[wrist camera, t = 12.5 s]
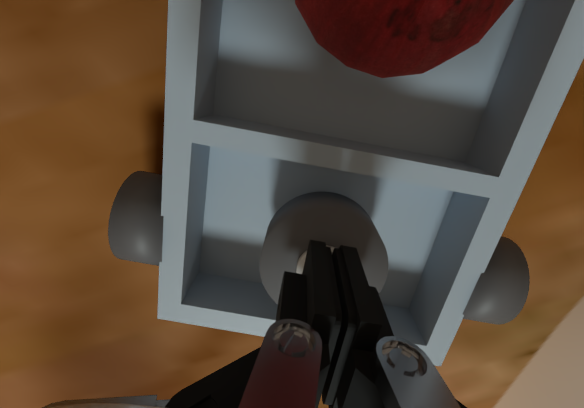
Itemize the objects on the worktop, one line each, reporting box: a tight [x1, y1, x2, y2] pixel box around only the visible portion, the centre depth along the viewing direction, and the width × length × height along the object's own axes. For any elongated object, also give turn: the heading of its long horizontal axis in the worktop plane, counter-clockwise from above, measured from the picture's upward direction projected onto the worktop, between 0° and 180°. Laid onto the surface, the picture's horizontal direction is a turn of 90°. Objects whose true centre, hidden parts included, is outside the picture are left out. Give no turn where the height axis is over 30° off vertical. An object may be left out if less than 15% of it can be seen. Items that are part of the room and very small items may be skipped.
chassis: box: [108, 0, 584, 366], centre depth 12 cm, size 20×17×4 cm
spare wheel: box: [259, 192, 389, 304], centre depth 12 cm, size 5×5×2 cm
